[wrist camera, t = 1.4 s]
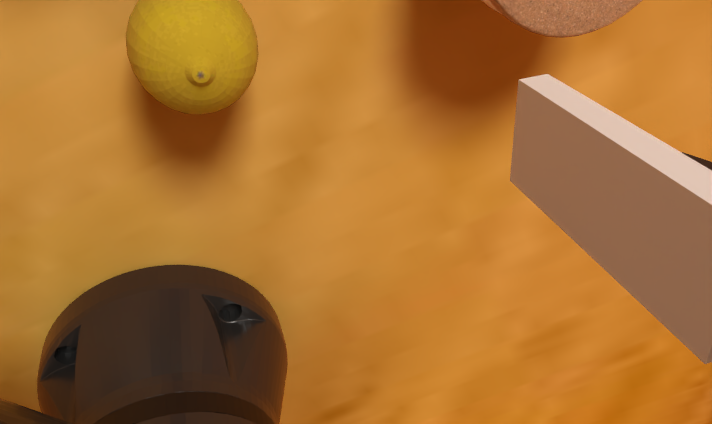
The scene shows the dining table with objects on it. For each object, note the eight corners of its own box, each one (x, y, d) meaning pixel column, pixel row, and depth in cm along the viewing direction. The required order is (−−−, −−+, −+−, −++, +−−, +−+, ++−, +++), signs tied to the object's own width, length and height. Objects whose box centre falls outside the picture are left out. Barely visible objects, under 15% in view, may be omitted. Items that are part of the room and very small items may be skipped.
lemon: (136, -52, 27) (135, -18, 20) (255, -18, 29) (288, 21, 23) (119, 65, 29) (114, 128, 23) (231, 88, 31) (255, 151, 25)
